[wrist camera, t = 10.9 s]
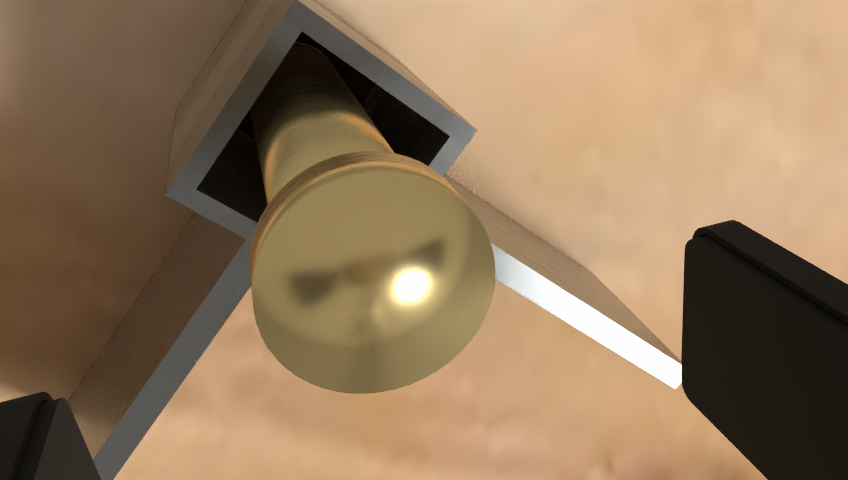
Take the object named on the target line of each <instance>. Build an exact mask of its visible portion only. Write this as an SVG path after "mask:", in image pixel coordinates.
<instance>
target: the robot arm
mask: <svg viewBox="0 0 848 480" xmlns="http://www.w3.org/2000/svg"><path fill="white" fill-rule="evenodd" d="M681 382H682V386H683V389H684V392H685V394H686V396H687V397H688V399H689V400H690V401H691V403H692V404H693V405H694V406H695V407H696V408H697V409H698V410H699V411H700V412H701V413H702V414H703V415H704V416H705V417H706V418H707V419H708V420H709V421H710V422H711V423H712V424H713V425H714V426H715V427H716V428H717V429H718V430H719V431H720V432H721V433H722V434H723V435H724V436H725V437H726V438H727V439H728V440H729V441H730V442H731V443H732V444H733V445H734V446H735V447H736V448H737V449H738V450H739V451H740V452H741V453H742V454H743V455H744V456H745V457H746V458H747V459H748V460H749V461H750V462H751V463H752V464H753V465H754V466H755V467H756V468H757V469H758V470H759V471H760V472H761V473H762V474H763V475H764V476H765V477H766V478H767V479H768V480H848V284H846V283H844V282H842V281H841V280H839V279H837V278H835V277H834V276H832V275H830V274H828V273H827V272H825V271H823V270H821V269H820V268H818V267H816V266H814V265H813V264H811V263H809V262H807V261H806V260H804V259H802V258H801V257H799V256H797V255H795V254H794V253H792V252H790V251H788V250H787V249H785V248H783V247H781V246H780V245H778V244H776V243H774V242H773V241H771V240H769V239H767V238H766V237H764V236H762V235H761V234H759V233H757V232H755V231H754V230H752V229H750V228H748V227H747V226H745V225H743V224H741V223H740V222H737V221H734V220H731V221H726V222H722V223H718V224H714V225H710V226H706V227H702V228H698V229H697V230H696V231H695V233H694V235H693V238H692V239H691V240H689V241H688V242H687V244H686V246H685V260H684V294H683V329H682V363H681ZM0 480H101V478H100V476H99V473H98V471H97V469H96V466H95V464H94V462H93V459H92V457H91V454H90V452H89V450H88V447H87V445H86V443H85V440H84V438H83V436H82V433H81V431H80V429H79V426H78V424H77V422H76V419H75V417H74V415H73V412H72V410H71V407H70V406H69V404H68V402H67V401H66V400H65V399H64V398H60V399H56V400H53V399H52V397H51V396H50V395H49V394H48V393H46V392H40V393H36V394H32V395H28V396H24V397H20V398H16V399H12V400H8V401H4V402H1V403H0Z"/></svg>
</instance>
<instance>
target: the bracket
mask: <svg viewBox="0 0 848 480" xmlns="http://www.w3.org/2000/svg"><path fill="white" fill-rule="evenodd" d="M301 32H304V33H305V34H307V35H308V36H309V37H311V38H312V39H314V40H315V41H316V42H318V43H319V44H321V45H322V46H324V47H325V48H326V49H328V50H329V51H331V52H332V53H333V54H335V55H336V56H338V57H339V58H340V59H342V60H343V61H345V62H346V63H348V64H349V65H350V66H352V67H353V68H355V69H356V70H357V71H359V72H360V73H362V74H363V75H364V76H366V77H367V78H369V79H370V80H372V81H373V82H374V83H376V85H375V86H374V88H373V89H372V91H371V92H370V93H369V95H368V96H367V98H366V99H365V101H364V102H363V103H362V105H361V106H362V107H363V109H364V110H365V112H366V113H367V114H368V116H369V117H370V119H371V120H372V122H373V123H374V124H375V126H376V127H377V129H378V130H379V132H380V133H381V134H382V136H383V137H384V139H385V140H386V142H387V143H388V144H389V146H390V147H391V149H392V150H393V152H394V153H395V154H399V155H403V156H407V157H410V158H412V159H415V160H417V161H420V162H422V163H423V164H425V165H427V166H429V167H430V168H432V169H434V170H435V171H436V172H437V173H439V174H440V175H441V176H443V177H444V178H445V179H446V180H447V181H448V182H449V184H450V185H451V186H452V187H453V188H454V189H455V190H456V191H457V193H458V194H459V195H460V196H461V198H462V199H463V200H464V201H465V203H466V204H467V205H468V206H469V207H470V209H471V210H472V211H473V212H474V214H475V215H476V216H477V218H478V219H479V221H480V222H481V223H482V225H483V227H484V229H485V231H486V233H487V235H488V237H489V240H490V243H491V246H492V249H493V254H494V260H495V279H497V280H498V281H500V282H502V283H503V284H505V285H507V286H508V287H510V288H511V289H513V290H515V291H516V292H518V293H520V294H521V295H523V296H525V297H526V298H528V299H529V300H531V301H533V302H534V303H536V304H538V305H539V306H541V307H543V308H544V309H546V310H547V311H549V312H551V313H552V314H554V315H556V316H557V317H559V318H560V319H562V320H564V321H565V322H567V323H569V324H570V325H572V326H574V327H575V328H577V329H578V330H580V331H582V332H583V333H585V334H587V335H588V336H590V337H592V338H593V339H595V340H596V341H598V342H600V343H601V344H603V345H605V346H606V347H608V348H609V349H611V350H613V351H614V352H616V353H618V354H619V355H621V356H623V357H624V358H626V359H627V360H629V361H631V362H632V363H634V364H636V365H637V366H639V367H641V368H642V369H644V370H645V371H647V372H649V373H650V374H652V375H654V376H655V377H657V378H658V379H660V380H662V381H663V382H665V383H667V384H668V385H670V386H672V387H673V388H675V389H676V388H677V386H678V385H679V384H680V383H681V363H682V362H681V361H680V360H679V359H678V358H677V357H676V356H675V355H674V354H673V353H672V352H671V351H670V350H669V349H668V348H667V347H666V346H665V345H664V344H663V343H662V342H661V341H660V340H659V339H658V338H657V337H656V336H655V335H654V334H653V333H652V332H651V331H650V330H649V329H648V328H647V327H646V326H645V325H644V324H643V323H642V322H641V321H640V320H639V319H638V318H637V317H636V316H635V315H634V314H633V313H632V312H631V311H630V310H629V309H628V308H627V307H626V306H625V305H624V304H623V303H622V302H621V301H620V300H619V299H618V298H617V297H616V296H615V295H614V294H613V293H612V292H611V291H610V290H609V289H608V288H607V287H606V286H605V285H604V284H603V283H602V282H601V281H600V280H599V279H598V278H597V277H596V276H595V275H594V274H592V273H591V272H589V271H588V270H586V269H585V268H583V267H582V266H580V265H579V264H577V263H576V262H574V261H573V260H572V259H570V258H569V257H567V256H566V255H564V254H563V253H561V252H560V251H558V250H557V249H555V248H554V247H552V246H551V245H549V244H548V243H546V242H545V241H543V240H542V239H540V238H539V237H537V236H536V235H534V234H533V233H531V232H530V231H528V230H527V229H525V228H524V227H522V226H521V225H519V224H518V223H517V222H515V221H514V220H512V219H511V218H509V217H508V216H506V215H505V214H503V213H502V212H500V211H499V210H497V209H496V208H494V207H493V206H491V205H490V204H488V203H487V202H485V201H484V200H482V199H481V198H479V197H478V196H476V195H475V194H473V193H472V192H470V191H469V190H467V189H466V188H465V187H463V186H462V185H460V184H459V183H457V182H456V181H454V180H453V179H451V178H450V177H448V176H447V175H445V173H446V172H447V171H448V169H449V168H450V167H451V165H452V164H453V163H454V161H455V160H456V159H457V157H458V156H459V155H460V153H461V152H462V151H463V149H464V148H465V147H466V145H467V144H468V143H469V141H470V140H471V139H472V137H473V136H474V135H475V133H476V132H477V130H476V129H475V128H474V127H473V126H472V125H470V124H469V123H468V122H467V121H466V120H465V119H464V118H463V117H462V116H460V115H459V114H458V113H457V112H456V111H455V110H454V109H453V108H451V107H450V106H449V105H448V104H447V103H446V102H445V101H444V100H443V99H441V98H440V97H439V96H438V95H437V94H436V93H435V92H434V91H433V90H431V89H430V88H429V87H428V86H427V85H426V84H425V83H424V82H422V81H421V80H420V79H419V78H418V77H417V76H416V75H415V74H414V73H412V72H411V71H410V70H409V69H408V68H407V67H406V66H404V65H403V64H402V63H400V62H399V61H398V60H396V59H395V58H394V57H392V56H391V55H389V54H388V53H387V52H385V51H384V50H383V49H381V48H380V47H379V46H377V45H376V44H375V43H373V42H372V41H370V40H369V39H368V38H366V37H365V36H364V35H362V34H361V33H360V32H358V31H357V30H356V29H354V28H353V27H352V26H350V25H349V24H347V23H346V22H345V21H343V20H342V19H341V18H339V17H338V16H337V15H335V14H334V13H333V12H331V11H330V10H328V9H327V8H326V7H324V6H323V5H322V4H320V3H319V2H318V1H316V0H247V1H246V3H245V4H244V6H243V7H242V9H241V11H240V12H239V14H238V15H237V17H236V18H235V20H234V21H233V23H232V25H231V26H230V28H229V29H228V31H227V32H226V34H225V35H224V37H223V39H222V40H221V42H220V43H219V45H218V46H217V48H216V49H215V51H214V53H213V54H212V56H211V57H210V59H209V60H208V62H207V63H206V65H205V67H204V68H203V70H202V71H201V73H200V74H199V76H198V77H197V79H196V80H195V82H194V84H193V85H192V87H191V88H190V90H189V91H188V93H187V94H186V96H185V98H184V99H183V101H182V102H181V104H180V105H179V107H178V108H177V111H176V118H175V126H174V133H173V140H172V148H171V155H170V163H169V170H168V178H167V185H166V193H165V196H166V197H168V198H170V199H172V200H174V201H176V202H178V203H179V204H181V205H183V206H185V207H187V208H189V209H191V210H193V211H194V212H196V213H195V214H194V216H193V217H192V219H191V220H190V222H189V223H188V224H187V226H186V227H185V229H184V230H183V232H182V233H181V235H180V236H179V238H178V239H177V241H176V242H175V244H174V245H173V247H172V248H171V250H170V251H169V253H168V254H167V256H166V257H165V259H164V260H163V262H162V263H161V265H160V266H159V268H158V269H157V271H156V272H155V274H154V275H153V276H152V278H151V279H150V281H149V282H148V284H147V285H146V287H145V288H144V290H143V291H142V293H141V294H140V296H139V297H138V299H137V300H136V302H135V303H134V305H133V306H132V308H131V309H130V311H129V312H128V314H127V315H126V317H125V318H124V320H123V321H122V323H121V324H120V326H119V327H118V328H117V330H116V331H115V333H114V334H113V336H112V337H111V339H110V340H109V342H108V343H107V345H106V346H105V348H104V349H103V351H102V352H101V354H100V355H99V357H98V358H97V360H96V361H95V363H94V364H93V366H92V367H91V369H90V370H89V372H88V373H87V375H86V376H85V378H84V379H83V380H82V382H81V383H80V385H79V386H78V388H77V389H76V391H75V392H74V394H73V395H72V397H71V398H70V400H69V401H68V404H69V406H70V407H71V410H72V412H73V415H74V417H75V419H76V422H77V424H78V426H79V429H80V431H81V433H82V436H83V438H84V440H85V443H86V445H87V447H88V450H89V452H90V454H91V457H92V459H93V462H94V464H95V466H96V469H97V471H98V473H99V476H100V478H101V480H113V479H114V478H115V476H116V475H117V473H118V472H119V471H120V469H121V468H122V466H123V465H124V464H125V462H126V461H127V459H128V458H129V457H130V455H131V454H132V452H133V451H134V450H135V448H136V447H137V445H138V444H139V443H140V441H141V440H142V438H143V437H144V435H145V434H146V433H147V431H148V430H149V428H150V427H151V426H152V424H153V423H154V421H155V420H156V419H157V417H158V416H159V414H160V413H161V412H162V410H163V409H164V407H165V406H166V405H167V403H168V402H169V400H170V399H171V397H172V396H173V395H174V393H175V392H176V390H177V389H178V388H179V386H180V385H181V383H182V382H183V381H184V379H185V378H186V376H187V375H188V374H189V372H190V371H191V369H192V368H193V367H194V365H195V364H196V362H197V361H198V359H199V358H200V357H201V355H202V354H203V352H204V351H205V350H206V348H207V347H208V345H209V344H210V343H211V341H212V340H213V338H214V337H215V336H216V334H217V333H218V331H219V330H220V329H221V327H222V326H223V324H224V323H225V321H226V320H227V319H228V317H229V316H230V314H231V313H232V312H233V310H234V309H235V307H236V306H237V305H238V303H239V302H240V300H241V299H242V298H243V296H244V295H245V293H246V292H247V291H248V289H249V288H250V286H251V280H250V265H249V257H250V248H251V242H252V239H253V235H254V231H255V229H256V226H257V224H258V222H259V219H260V217H261V215H262V214H263V212H264V210H265V209H266V207H267V205H268V204H267V198H266V193H265V187H264V182H263V176H262V171H261V165H260V160H259V154H258V149H257V143H256V140H255V139H253V138H251V137H250V136H248V135H247V134H245V133H243V132H242V131H240V130H238V129H237V127H238V126H239V124H240V123H241V121H242V120H243V118H244V117H245V115H246V114H247V112H248V111H249V109H250V108H251V106H252V105H253V103H254V102H255V100H256V99H257V97H258V96H259V94H260V93H261V91H262V90H263V88H264V87H265V85H266V84H267V83H268V81H269V80H270V78H271V77H272V75H273V74H274V72H275V71H276V69H277V68H278V66H279V65H280V63H281V62H282V60H283V59H284V57H285V56H286V54H287V53H288V51H289V50H290V48H291V47H292V45H293V44H294V42H295V41H296V39H297V38H298V36H299V35H300V33H301Z"/></svg>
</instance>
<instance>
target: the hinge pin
mask: <svg viewBox="0 0 848 480" xmlns="http://www.w3.org/2000/svg"><path fill="white" fill-rule="evenodd" d="M250 110H251V116H252V121H253V127H254V132H255V138H256V143H257V149H258V154H259V160H260V165H261V171H262V176H263V182H264V187H265V193H266V198H267V204H268V205H267V207H266V209H265V210H264V212H263V214H262V215H261V217H260V219H259V222H258V224H257V226H256V229H255V231H254V235H253V239H252V242H251V248H250V257H249V265H250V280H251V289H252V299H253V308H254V314H255V319H256V323H257V326H258V329H259V331H260V334H261V336H262V338H263V340H264V342H265V344H266V345H267V347H268V349H269V350H270V351H271V353H272V354H273V355H274V356H275V358H276V359H277V360H278V361H279V362H280V363H281V364H282V365H283V366H284V367H285V368H287V369H288V370H289V371H291V372H292V373H293V374H295V375H296V376H298V377H299V378H301V379H303V380H305V381H307V382H309V383H311V384H314V385H316V386H319V387H322V388H325V389H329V390H333V391H337V392H345V393H376V392H384V391H388V390H393V389H397V388H400V387H403V386H407V385H410V384H412V383H414V382H417V381H419V380H421V379H423V378H425V377H427V376H429V375H431V374H432V373H434V372H436V371H437V370H439V369H440V368H442V367H443V366H444V365H446V364H447V363H449V362H450V361H451V360H452V359H453V358H454V357H455V356H456V355H458V354H459V353H460V352H461V351H462V350H463V348H464V347H465V346H466V345H467V344H468V343H469V342H470V340H471V339H472V338H473V336H474V335H475V333H476V332H477V331H478V329H479V327H480V326H481V324H482V322H483V320H484V318H485V316H486V314H487V311H488V309H489V306H490V303H491V299H492V296H493V292H494V284H495V260H494V254H493V249H492V246H491V243H490V240H489V237H488V235H487V233H486V231H485V229H484V227H483V225H482V223H481V222H480V221H479V219H478V218H477V216H476V215H475V214H474V212H473V211H472V210H471V209H470V207H469V206H468V205H467V204H466V203H465V201H464V200H463V199H462V198H461V196H460V195H459V194H458V193H457V191H456V190H455V189H454V188H453V187H452V186H451V185H450V184H449V182H448V181H447V180H446V179H445V178H444V177H443V176H441V175H440V174H439V173H437V172H436V171H435V170H434V169H432V168H430V167H429V166H427V165H425V164H423V163H422V162H420V161H417V160H415V159H412V158H410V157H407V156H403V155H399V154H395V153H394V152H393V150H392V149H391V147H390V146H389V144H388V143H387V142H386V140H385V139H384V137H383V136H382V134H381V133H380V132H379V130H378V129H377V127H376V126H375V124H374V123H373V122H372V120H371V119H370V117H369V116H368V114H367V113H366V112H365V110H364V109H363V107H362V106H361V104H360V103H359V102H358V100H357V99H356V97H355V96H354V94H353V93H352V92H351V90H350V89H349V87H348V86H347V84H346V83H345V82H344V80H343V79H342V77H341V76H340V74H339V73H338V72H337V70H336V69H335V67H334V66H333V65H332V63H331V62H330V60H329V59H328V58H327V57H326V56H325V55H324V54H323V53H322V52H321V51H319V50H318V49H316V48H315V47H313V46H310V45H308V44H305V43H300V42H294V44H293V45H292V47H291V48H290V50H289V51H288V53H287V54H286V56H285V57H284V59H283V60H282V62H281V63H280V65H279V66H278V68H277V69H276V71H275V72H274V74H273V75H272V77H271V78H270V80H269V81H268V83H267V84H266V85H265V87H264V88H263V90H262V91H261V93H260V94H259V96H258V97H257V99H256V100H255V102H254V103H253V105H252V106H251V108H250Z"/></svg>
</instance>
